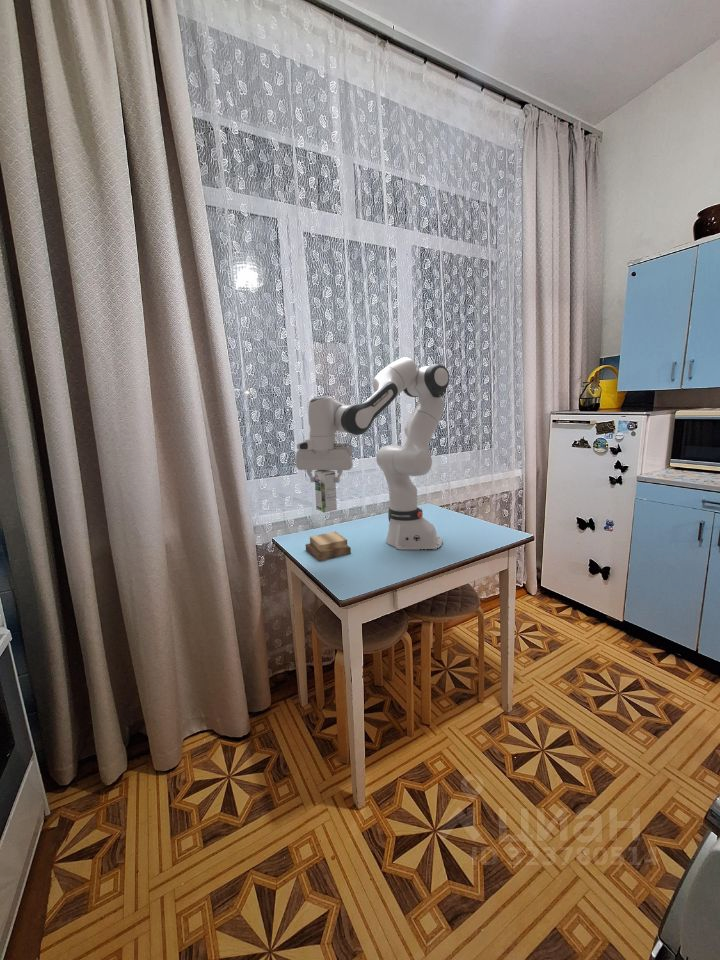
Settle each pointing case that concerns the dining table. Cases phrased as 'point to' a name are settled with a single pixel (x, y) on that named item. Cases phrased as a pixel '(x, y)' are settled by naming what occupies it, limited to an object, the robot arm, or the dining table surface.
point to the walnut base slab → (328, 554)
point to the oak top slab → (328, 542)
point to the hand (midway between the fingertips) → (325, 482)
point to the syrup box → (325, 490)
